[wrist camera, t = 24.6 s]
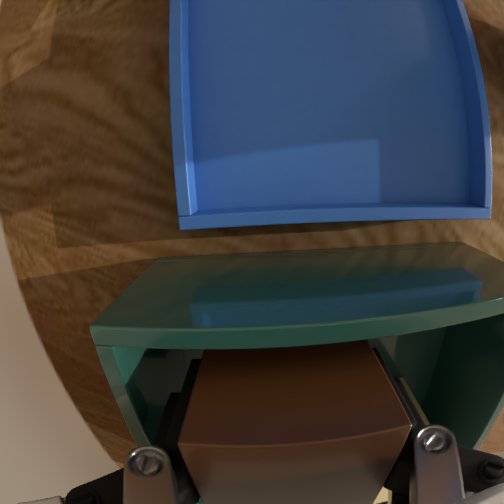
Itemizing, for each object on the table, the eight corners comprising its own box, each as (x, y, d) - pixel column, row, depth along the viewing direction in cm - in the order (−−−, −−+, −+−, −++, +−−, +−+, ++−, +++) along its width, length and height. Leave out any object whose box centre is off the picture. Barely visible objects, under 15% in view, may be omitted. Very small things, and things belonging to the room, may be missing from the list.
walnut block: (209, 328, 10) (175, 444, 5) (356, 319, 10) (413, 424, 5) (225, 425, 11) (212, 525, 6) (342, 418, 11) (367, 513, 6)
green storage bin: (157, 257, 13) (87, 326, 7) (461, 241, 12) (548, 286, 6) (204, 460, 16) (191, 534, 11) (409, 439, 16) (436, 503, 10)
